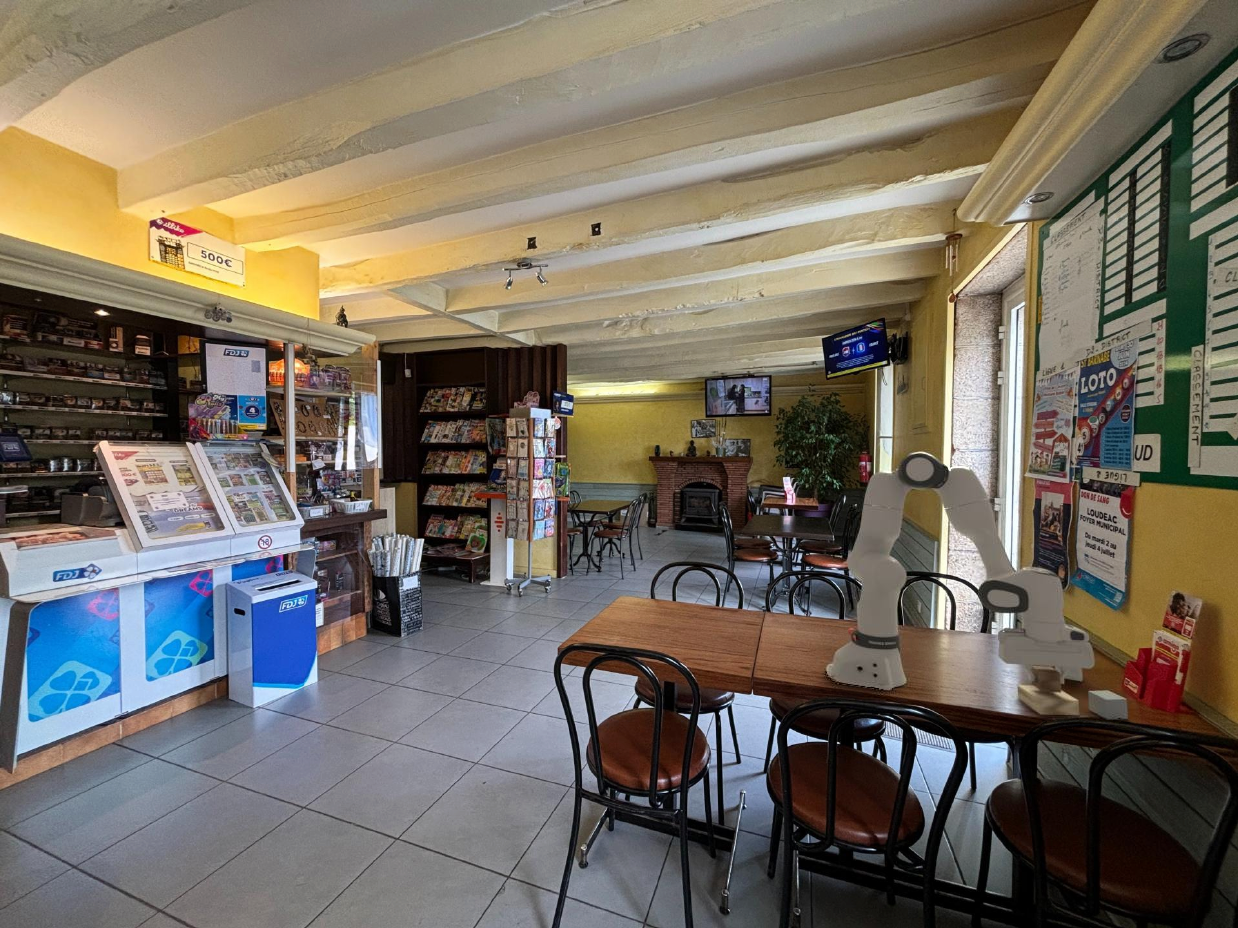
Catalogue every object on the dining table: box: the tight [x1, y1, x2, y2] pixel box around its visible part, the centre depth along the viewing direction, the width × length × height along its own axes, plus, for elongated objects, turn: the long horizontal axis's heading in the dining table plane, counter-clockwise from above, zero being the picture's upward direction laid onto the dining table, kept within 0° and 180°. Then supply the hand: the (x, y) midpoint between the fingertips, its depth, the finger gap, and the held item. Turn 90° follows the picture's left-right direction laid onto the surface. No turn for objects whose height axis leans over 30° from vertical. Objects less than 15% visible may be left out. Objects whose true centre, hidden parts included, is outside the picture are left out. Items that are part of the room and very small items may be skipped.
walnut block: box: [1030, 665, 1062, 693], centre depth 135 cm, size 4×4×5 cm
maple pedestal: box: [1017, 684, 1080, 716], centre depth 135 cm, size 9×9×4 cm
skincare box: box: [1054, 667, 1083, 682], centre depth 152 cm, size 6×4×12 cm
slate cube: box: [1087, 689, 1129, 720], centre depth 129 cm, size 5×5×5 cm
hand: (1046, 681), depth 135 cm, fingers closed on walnut block, 4 cm apart
